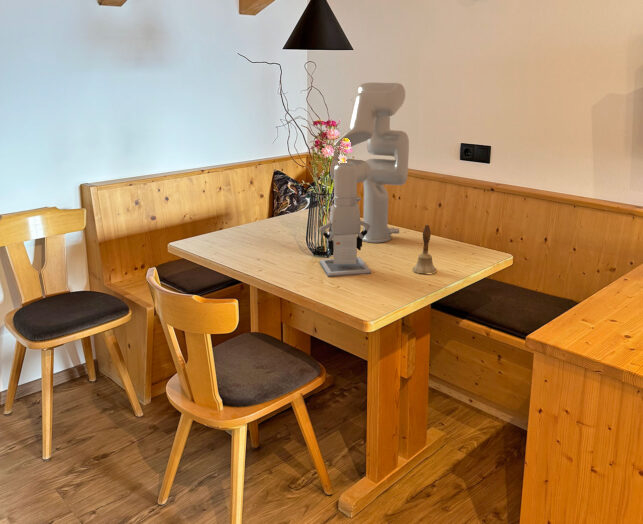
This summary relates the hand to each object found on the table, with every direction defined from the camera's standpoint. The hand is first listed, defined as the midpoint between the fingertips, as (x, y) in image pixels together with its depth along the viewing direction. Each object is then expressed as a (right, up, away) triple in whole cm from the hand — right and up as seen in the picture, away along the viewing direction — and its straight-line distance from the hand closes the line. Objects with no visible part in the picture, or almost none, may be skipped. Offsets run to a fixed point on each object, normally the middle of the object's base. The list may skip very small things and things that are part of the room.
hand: (345, 249), depth 219 cm
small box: (0, -4, +2) cm, 5 cm away
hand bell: (+27, -7, -1) cm, 28 cm away
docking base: (0, -6, +2) cm, 7 cm away
